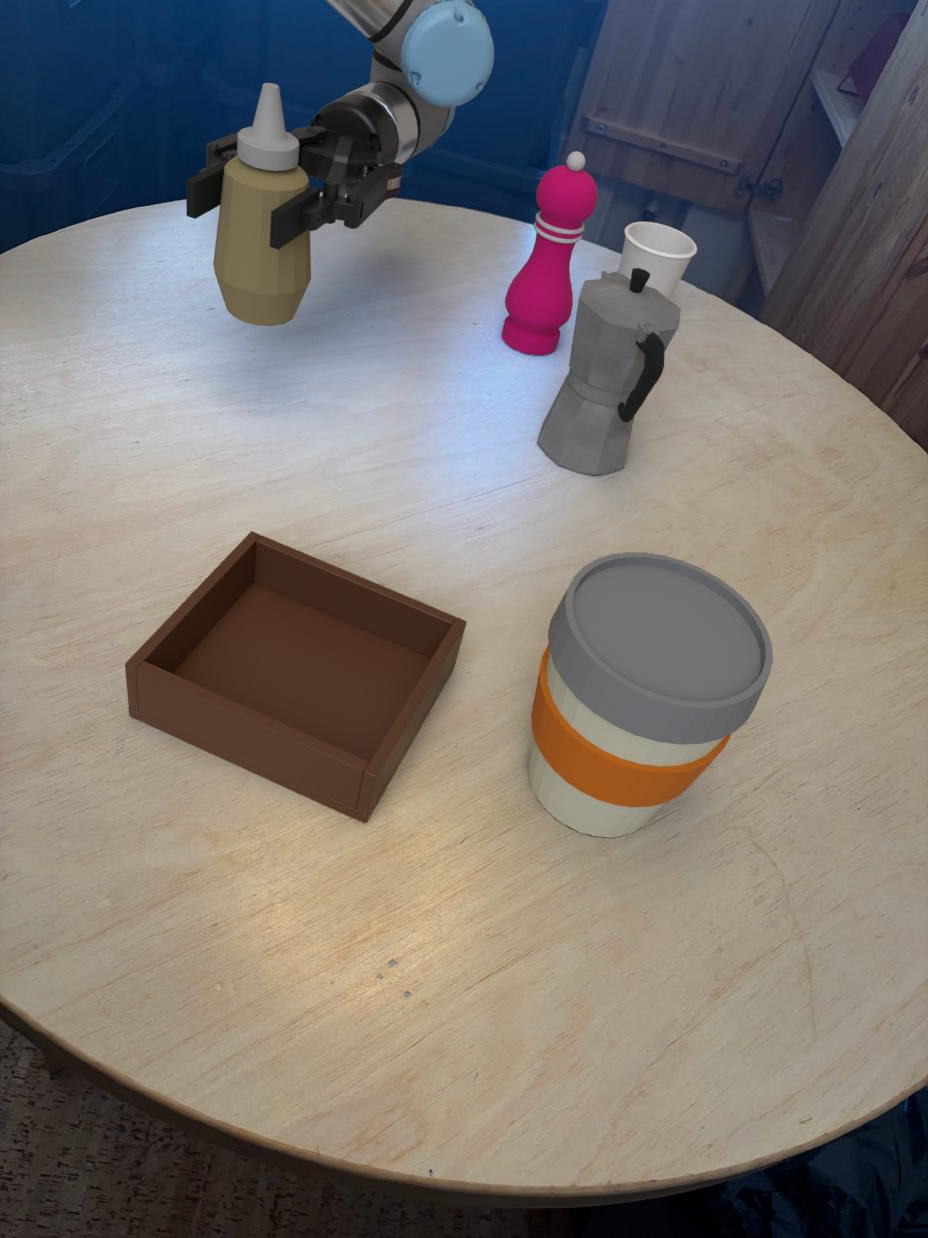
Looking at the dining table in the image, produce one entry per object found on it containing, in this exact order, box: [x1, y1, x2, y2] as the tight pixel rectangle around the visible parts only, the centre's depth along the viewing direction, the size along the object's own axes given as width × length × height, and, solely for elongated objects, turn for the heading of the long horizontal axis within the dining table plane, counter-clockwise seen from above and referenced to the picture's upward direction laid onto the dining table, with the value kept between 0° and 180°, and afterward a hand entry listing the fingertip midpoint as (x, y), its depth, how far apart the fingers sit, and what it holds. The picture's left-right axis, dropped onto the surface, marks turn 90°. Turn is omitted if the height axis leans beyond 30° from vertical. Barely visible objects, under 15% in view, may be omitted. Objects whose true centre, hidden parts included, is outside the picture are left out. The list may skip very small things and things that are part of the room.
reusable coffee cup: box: [527, 551, 774, 836], centre depth 58 cm, size 13×12×15 cm
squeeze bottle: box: [212, 82, 312, 327], centre depth 76 cm, size 8×8×18 cm
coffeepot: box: [536, 268, 682, 476], centre depth 84 cm, size 15×9×18 cm, turn 10°
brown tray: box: [124, 530, 467, 824], centre depth 62 cm, size 17×15×5 cm
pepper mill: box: [501, 151, 599, 356], centre depth 97 cm, size 7×7×20 cm
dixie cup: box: [618, 221, 698, 301], centre depth 109 cm, size 8×8×10 cm
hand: (232, 214), depth 72 cm, fingers closed on squeeze bottle, 6 cm apart
